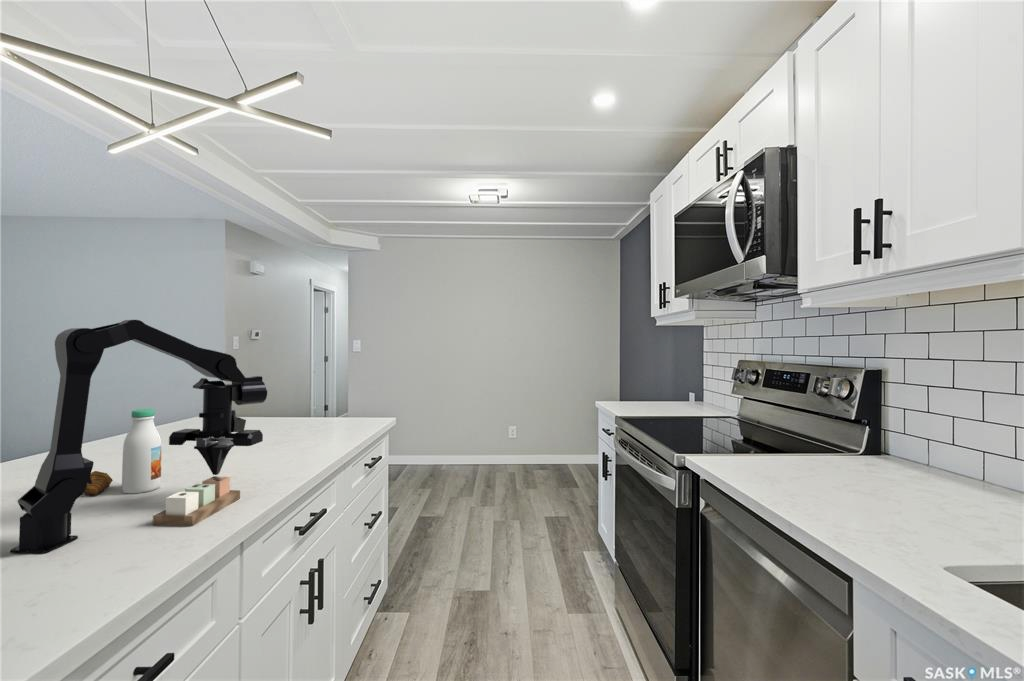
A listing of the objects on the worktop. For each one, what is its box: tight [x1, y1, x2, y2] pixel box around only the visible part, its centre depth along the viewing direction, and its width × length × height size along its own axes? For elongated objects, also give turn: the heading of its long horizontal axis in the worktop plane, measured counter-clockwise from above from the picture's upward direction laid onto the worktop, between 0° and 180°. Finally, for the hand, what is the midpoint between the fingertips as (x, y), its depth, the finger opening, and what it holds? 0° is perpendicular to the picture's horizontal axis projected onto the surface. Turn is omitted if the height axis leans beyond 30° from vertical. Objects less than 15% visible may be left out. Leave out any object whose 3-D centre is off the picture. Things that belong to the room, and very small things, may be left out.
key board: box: [152, 489, 241, 527], centre depth 105 cm, size 17×8×2 cm, turn 0°
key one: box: [165, 491, 199, 515], centre depth 99 cm, size 4×4×4 cm
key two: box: [184, 483, 215, 506], centre depth 105 cm, size 4×4×4 cm
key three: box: [201, 475, 231, 497], centre depth 110 cm, size 4×4×4 cm
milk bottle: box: [121, 408, 162, 494], centre depth 119 cm, size 8×8×20 cm
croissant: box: [83, 470, 113, 497], centre depth 118 cm, size 14×7×5 cm, turn 37°
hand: (216, 474), depth 110 cm, fingers closed
